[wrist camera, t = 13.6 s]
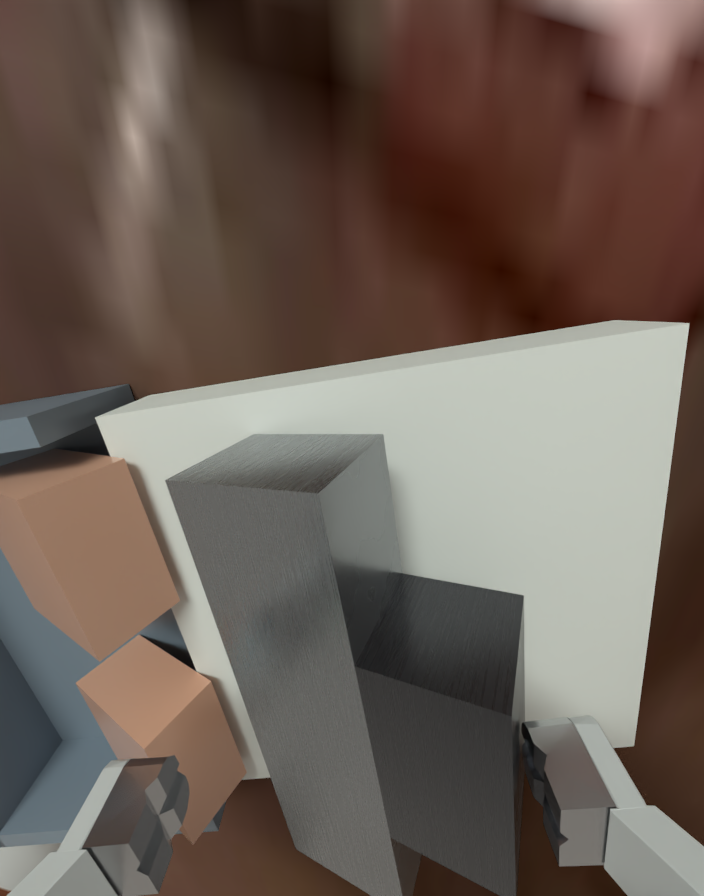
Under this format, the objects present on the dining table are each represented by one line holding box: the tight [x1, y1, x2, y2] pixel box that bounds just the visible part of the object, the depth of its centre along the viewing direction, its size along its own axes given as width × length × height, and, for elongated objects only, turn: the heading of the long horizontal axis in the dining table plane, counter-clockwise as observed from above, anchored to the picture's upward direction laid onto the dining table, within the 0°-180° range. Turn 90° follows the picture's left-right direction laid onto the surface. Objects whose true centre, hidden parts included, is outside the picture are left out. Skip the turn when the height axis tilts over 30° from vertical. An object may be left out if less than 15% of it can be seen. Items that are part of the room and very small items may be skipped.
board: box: [95, 320, 689, 780], centre depth 14 cm, size 16×16×3 cm
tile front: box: [0, 448, 180, 662], centre depth 12 cm, size 5×5×2 cm
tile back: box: [76, 635, 247, 844], centre depth 15 cm, size 5×5×2 cm
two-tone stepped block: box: [165, 434, 525, 896], centre depth 10 cm, size 3×14×7 cm
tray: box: [0, 384, 226, 848], centre depth 15 cm, size 10×17×4 cm, turn 9°
